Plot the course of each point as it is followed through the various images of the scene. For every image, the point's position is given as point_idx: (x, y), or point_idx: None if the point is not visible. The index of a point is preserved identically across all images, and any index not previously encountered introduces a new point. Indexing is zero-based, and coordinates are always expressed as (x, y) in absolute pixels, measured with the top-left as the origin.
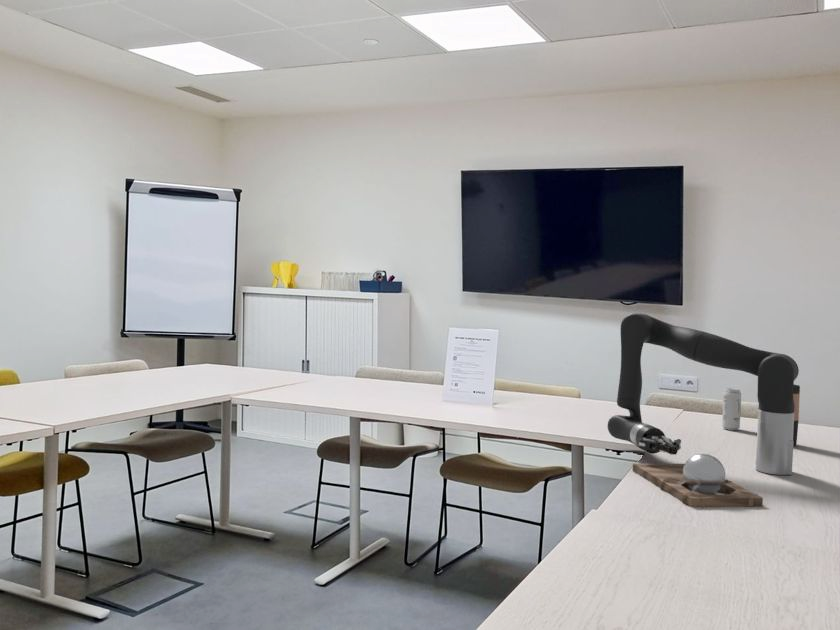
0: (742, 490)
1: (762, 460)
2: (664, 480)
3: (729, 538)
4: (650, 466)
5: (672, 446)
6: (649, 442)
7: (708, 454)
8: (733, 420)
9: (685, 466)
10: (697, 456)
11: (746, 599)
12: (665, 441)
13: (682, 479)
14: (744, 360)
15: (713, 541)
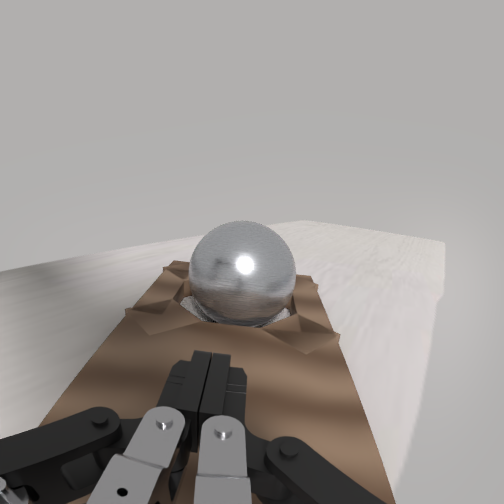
0: (171, 278)
1: None
2: (327, 338)
3: (305, 249)
4: None
5: (220, 355)
6: (354, 487)
7: (235, 222)
8: None
9: (294, 264)
10: (270, 229)
11: (336, 228)
12: (164, 475)
13: (264, 339)
14: None
15: (325, 249)
